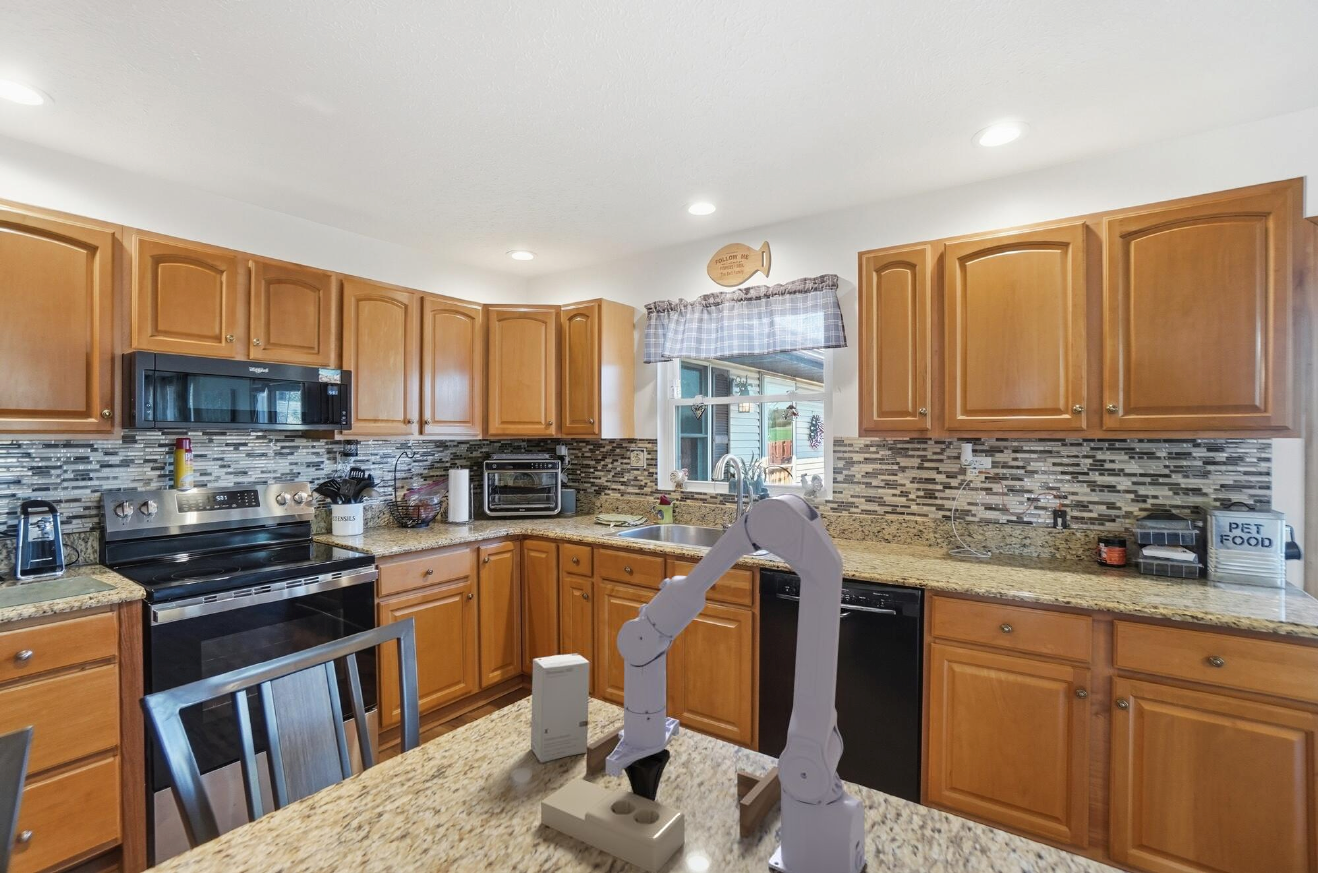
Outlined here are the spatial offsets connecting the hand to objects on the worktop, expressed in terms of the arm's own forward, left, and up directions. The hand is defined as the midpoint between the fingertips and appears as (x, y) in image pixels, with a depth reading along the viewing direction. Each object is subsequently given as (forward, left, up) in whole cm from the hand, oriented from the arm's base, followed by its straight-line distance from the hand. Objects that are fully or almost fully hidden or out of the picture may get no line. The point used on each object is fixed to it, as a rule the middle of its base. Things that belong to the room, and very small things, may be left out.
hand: (644, 806), depth 83 cm
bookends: (0, -9, -1) cm, 9 cm away
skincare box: (+22, -7, -1) cm, 23 cm away
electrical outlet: (+2, +5, -2) cm, 6 cm away
